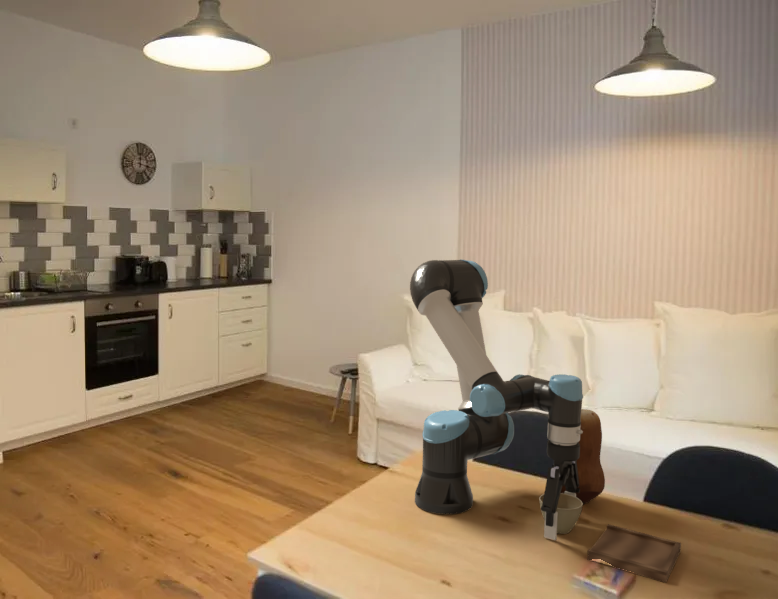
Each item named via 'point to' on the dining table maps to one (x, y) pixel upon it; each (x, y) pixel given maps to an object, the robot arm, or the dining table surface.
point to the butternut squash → (589, 458)
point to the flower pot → (566, 512)
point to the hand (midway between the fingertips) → (559, 527)
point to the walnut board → (636, 552)
